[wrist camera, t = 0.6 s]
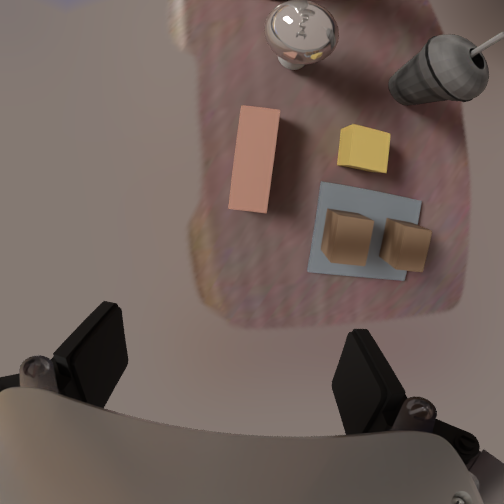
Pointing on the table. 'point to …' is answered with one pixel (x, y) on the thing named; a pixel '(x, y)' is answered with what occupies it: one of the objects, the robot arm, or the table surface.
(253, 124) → the beam
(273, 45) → the light bulb
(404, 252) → the pier
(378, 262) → the board
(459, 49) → the beverage cup
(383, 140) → the cube
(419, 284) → the table surface
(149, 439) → the robot arm
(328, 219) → the block
